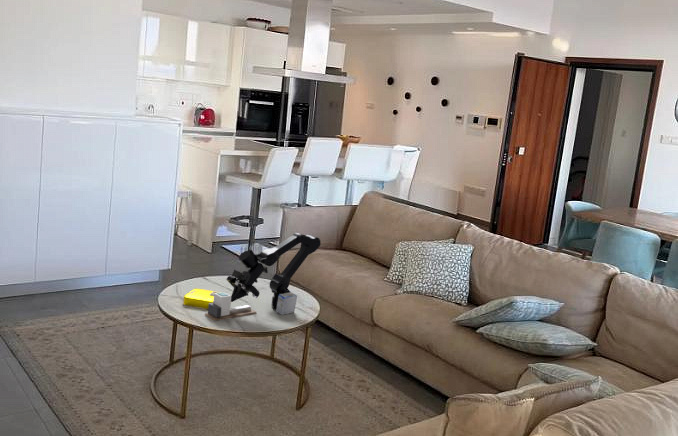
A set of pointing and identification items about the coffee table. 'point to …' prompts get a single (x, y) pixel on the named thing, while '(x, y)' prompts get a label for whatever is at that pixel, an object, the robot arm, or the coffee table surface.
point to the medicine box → (286, 303)
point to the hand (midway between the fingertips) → (230, 301)
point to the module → (223, 302)
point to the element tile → (199, 298)
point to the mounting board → (232, 315)
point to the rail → (216, 310)
